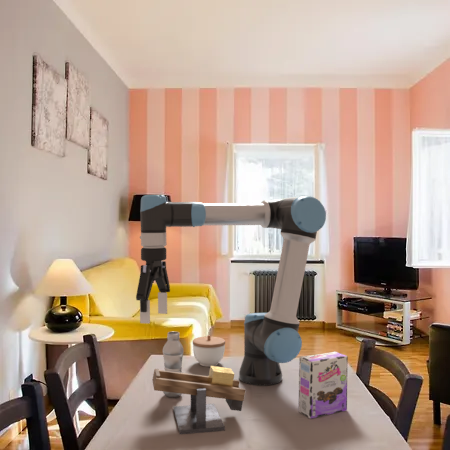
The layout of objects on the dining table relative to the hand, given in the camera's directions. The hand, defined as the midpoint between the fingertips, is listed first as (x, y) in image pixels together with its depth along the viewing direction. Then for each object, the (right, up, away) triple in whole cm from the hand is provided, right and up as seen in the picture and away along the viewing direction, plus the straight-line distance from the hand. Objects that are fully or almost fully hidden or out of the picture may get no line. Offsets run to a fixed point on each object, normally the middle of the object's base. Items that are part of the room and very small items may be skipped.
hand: (154, 318), depth 142 cm
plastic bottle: (+5, -27, +8) cm, 28 cm away
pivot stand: (+13, -27, -9) cm, 31 cm away
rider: (+19, -18, -8) cm, 28 cm away
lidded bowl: (+15, -26, +42) cm, 52 cm away
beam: (+13, -21, -9) cm, 27 cm away
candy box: (+50, -27, -2) cm, 57 cm away
